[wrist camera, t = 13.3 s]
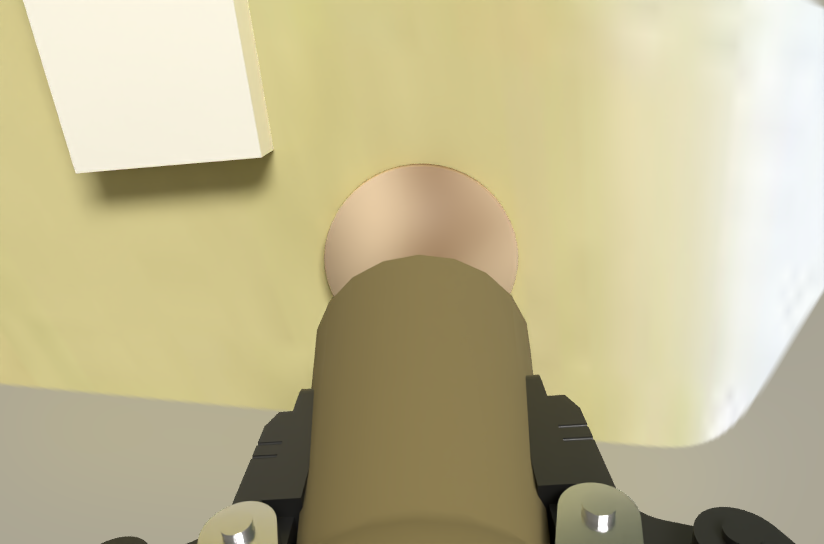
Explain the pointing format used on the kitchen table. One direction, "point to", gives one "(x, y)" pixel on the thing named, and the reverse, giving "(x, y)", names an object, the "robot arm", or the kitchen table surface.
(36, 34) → the tile
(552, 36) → the kitchen table surface
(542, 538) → the pepper shaker
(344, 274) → the disc
